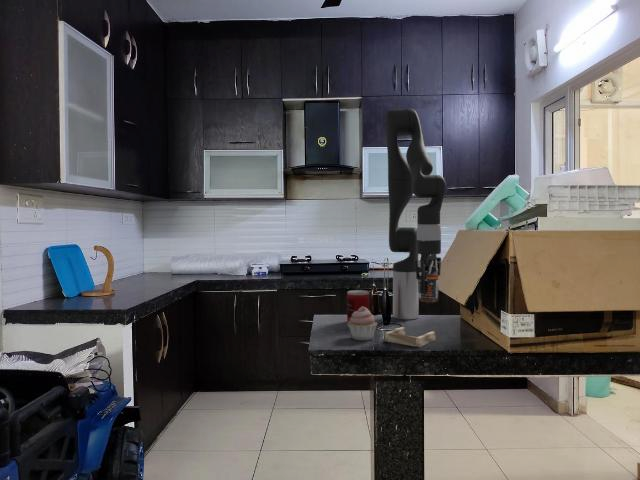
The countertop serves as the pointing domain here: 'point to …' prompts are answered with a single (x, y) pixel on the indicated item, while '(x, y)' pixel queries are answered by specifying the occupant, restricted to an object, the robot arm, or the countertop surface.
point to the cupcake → (362, 325)
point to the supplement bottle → (430, 288)
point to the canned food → (356, 301)
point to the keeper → (408, 338)
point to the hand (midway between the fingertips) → (428, 291)
